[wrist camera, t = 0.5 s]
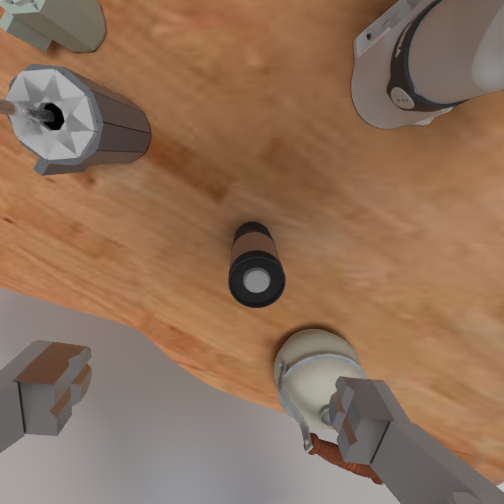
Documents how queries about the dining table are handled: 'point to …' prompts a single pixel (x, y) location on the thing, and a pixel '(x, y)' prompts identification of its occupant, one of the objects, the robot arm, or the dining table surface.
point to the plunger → (25, 111)
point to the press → (76, 121)
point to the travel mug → (255, 267)
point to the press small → (55, 23)
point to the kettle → (316, 388)
